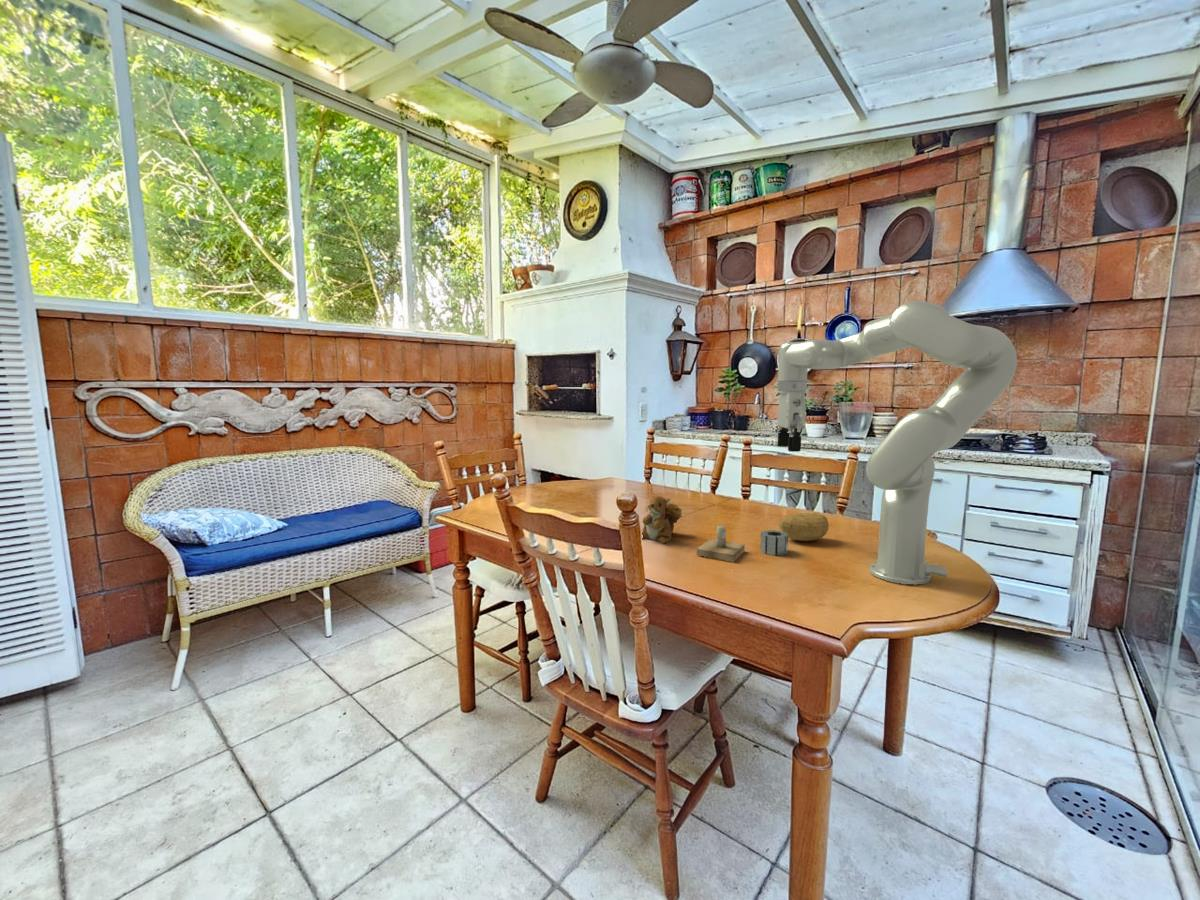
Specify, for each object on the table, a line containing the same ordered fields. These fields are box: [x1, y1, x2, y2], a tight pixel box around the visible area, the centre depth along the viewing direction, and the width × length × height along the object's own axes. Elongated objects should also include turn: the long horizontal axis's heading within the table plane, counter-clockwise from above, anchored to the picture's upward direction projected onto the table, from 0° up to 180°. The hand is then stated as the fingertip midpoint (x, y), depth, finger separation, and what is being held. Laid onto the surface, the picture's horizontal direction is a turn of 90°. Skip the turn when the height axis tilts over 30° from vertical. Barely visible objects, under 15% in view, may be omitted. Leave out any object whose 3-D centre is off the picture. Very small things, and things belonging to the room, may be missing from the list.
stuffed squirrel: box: [641, 494, 683, 544], centre depth 155 cm, size 10×14×13 cm
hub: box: [760, 529, 789, 557], centre depth 141 cm, size 7×7×5 cm
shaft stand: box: [696, 525, 746, 563], centre depth 139 cm, size 10×10×8 cm
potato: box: [778, 512, 830, 542], centre depth 150 cm, size 10×14×8 cm
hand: (788, 448), depth 144 cm, fingers open, 9 cm apart
